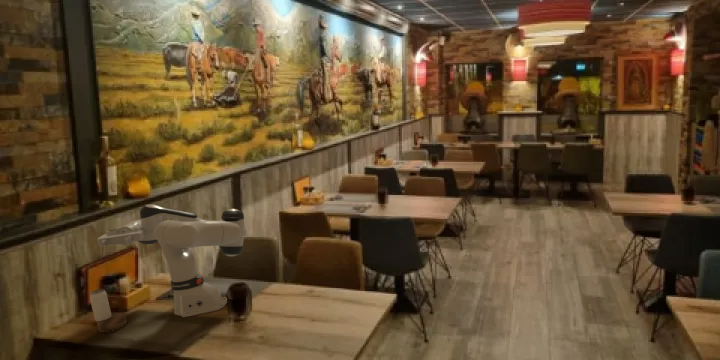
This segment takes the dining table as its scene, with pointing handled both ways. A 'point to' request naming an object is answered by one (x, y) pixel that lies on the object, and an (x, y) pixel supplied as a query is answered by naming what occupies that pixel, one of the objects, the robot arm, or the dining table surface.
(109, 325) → the brown rounded flat block
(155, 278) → the dining table surface
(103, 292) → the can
